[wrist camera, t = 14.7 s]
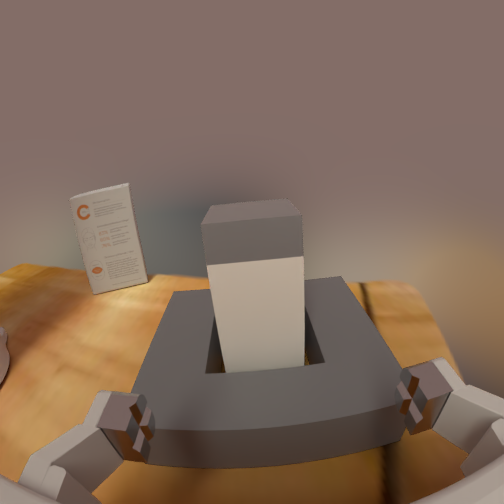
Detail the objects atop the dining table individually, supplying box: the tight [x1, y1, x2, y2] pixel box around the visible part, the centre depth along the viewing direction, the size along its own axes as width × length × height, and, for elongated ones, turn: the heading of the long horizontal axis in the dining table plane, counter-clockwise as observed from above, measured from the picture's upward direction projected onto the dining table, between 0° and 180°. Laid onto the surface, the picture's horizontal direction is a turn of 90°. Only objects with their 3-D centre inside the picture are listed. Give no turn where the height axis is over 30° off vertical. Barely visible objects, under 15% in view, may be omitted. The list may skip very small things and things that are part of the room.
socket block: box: [131, 276, 406, 468], centre depth 19 cm, size 15×15×4 cm
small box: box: [69, 183, 148, 295], centre depth 36 cm, size 8×6×13 cm
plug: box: [201, 199, 305, 373], centre depth 17 cm, size 5×5×12 cm
